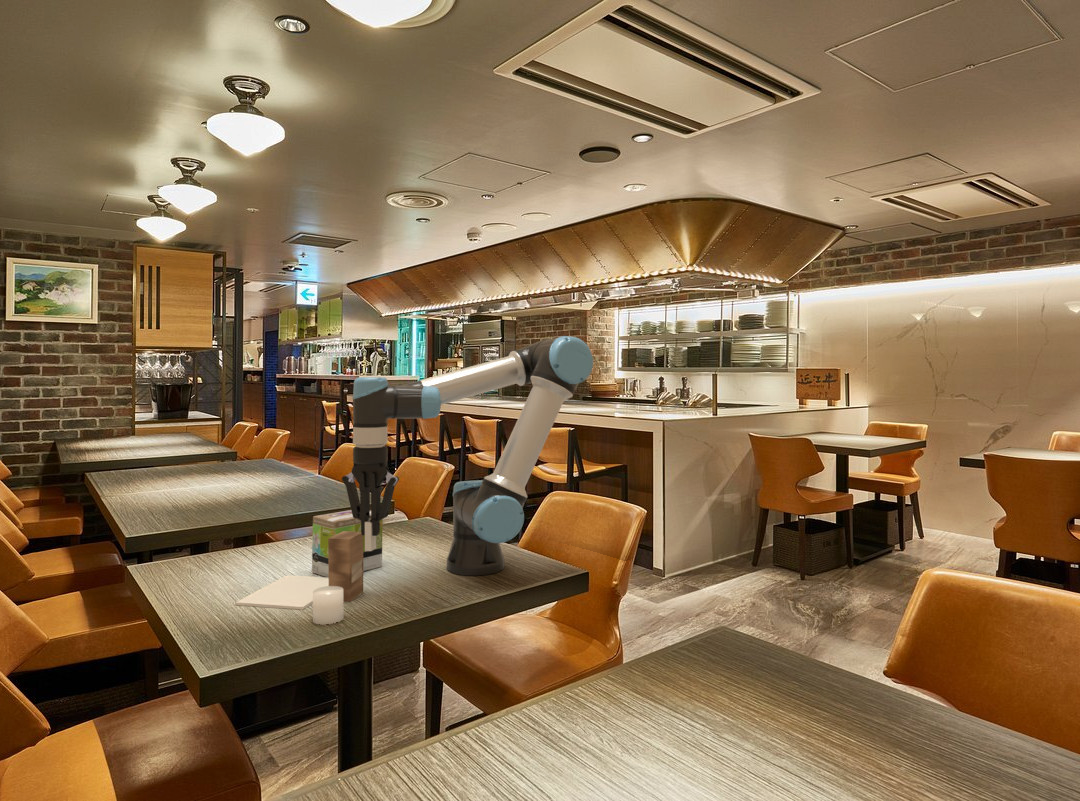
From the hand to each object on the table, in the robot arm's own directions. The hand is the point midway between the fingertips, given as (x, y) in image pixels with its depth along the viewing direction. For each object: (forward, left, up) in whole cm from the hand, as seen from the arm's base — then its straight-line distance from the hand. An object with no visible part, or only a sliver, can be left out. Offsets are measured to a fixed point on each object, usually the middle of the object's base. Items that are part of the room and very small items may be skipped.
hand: (370, 549), depth 147 cm
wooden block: (+6, 0, -11) cm, 13 cm away
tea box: (+15, -19, -11) cm, 27 cm away
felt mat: (+19, 0, -11) cm, 22 cm away
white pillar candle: (+3, +14, -11) cm, 18 cm away
